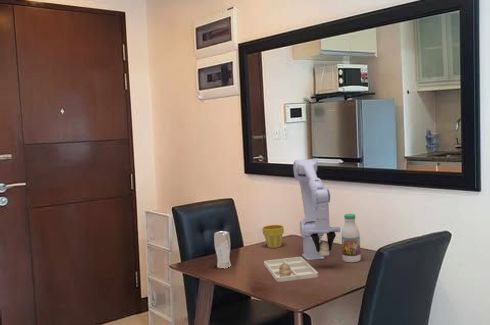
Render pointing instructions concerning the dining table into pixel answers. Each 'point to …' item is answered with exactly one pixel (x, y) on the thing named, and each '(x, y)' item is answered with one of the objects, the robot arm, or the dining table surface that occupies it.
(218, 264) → the beer glass
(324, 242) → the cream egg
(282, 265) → the tan tiered dome
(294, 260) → the white compartment tray
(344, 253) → the milk bottle
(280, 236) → the plant pot
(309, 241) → the robot arm
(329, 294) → the dining table surface
